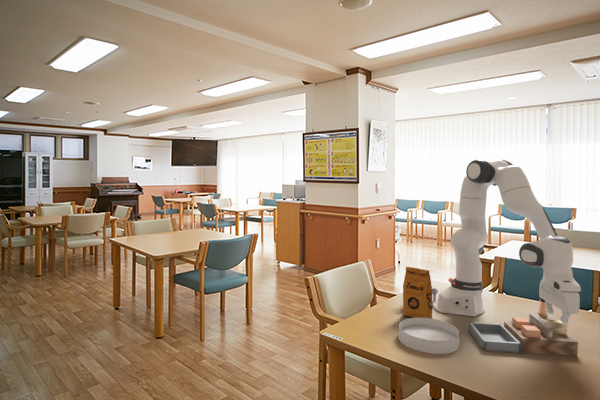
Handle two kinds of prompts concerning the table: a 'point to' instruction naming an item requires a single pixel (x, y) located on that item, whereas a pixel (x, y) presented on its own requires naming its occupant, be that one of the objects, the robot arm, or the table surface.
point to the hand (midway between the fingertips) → (557, 317)
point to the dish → (429, 335)
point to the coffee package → (417, 293)
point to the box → (494, 337)
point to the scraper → (548, 326)
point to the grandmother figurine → (542, 308)
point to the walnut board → (544, 342)
